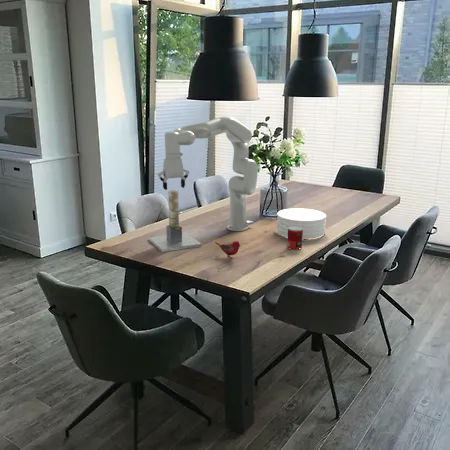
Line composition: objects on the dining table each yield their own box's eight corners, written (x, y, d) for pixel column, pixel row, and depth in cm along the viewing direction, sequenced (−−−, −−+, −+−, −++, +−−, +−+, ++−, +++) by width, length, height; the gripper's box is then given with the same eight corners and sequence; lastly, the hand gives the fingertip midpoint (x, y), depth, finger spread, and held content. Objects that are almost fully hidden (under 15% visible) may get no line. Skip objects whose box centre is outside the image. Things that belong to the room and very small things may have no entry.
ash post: (176, 226, 271) (175, 190, 265) (179, 228, 268) (178, 191, 262) (169, 227, 269) (168, 190, 264) (171, 229, 266) (171, 192, 260)
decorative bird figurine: (238, 262, 244) (238, 242, 241) (212, 253, 255) (212, 235, 252) (242, 260, 246) (242, 241, 243) (216, 252, 257) (216, 233, 254)
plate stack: (331, 230, 297) (332, 211, 294) (315, 243, 273) (317, 223, 270) (286, 224, 310) (287, 206, 306) (268, 235, 286) (269, 216, 283)
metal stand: (185, 235, 285) (185, 219, 282) (201, 246, 266) (201, 229, 264) (148, 240, 276) (147, 223, 273) (161, 252, 257) (161, 234, 254)
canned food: (298, 251, 260) (299, 231, 257) (284, 248, 264) (285, 228, 261) (304, 247, 267) (305, 227, 263) (290, 244, 271) (291, 225, 267)
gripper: (185, 153, 265) (186, 185, 270) (154, 156, 257) (156, 188, 262) (191, 155, 258) (192, 188, 263) (159, 158, 251) (161, 191, 256)
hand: (174, 188), depth 263 cm, fingers open, 9 cm apart
